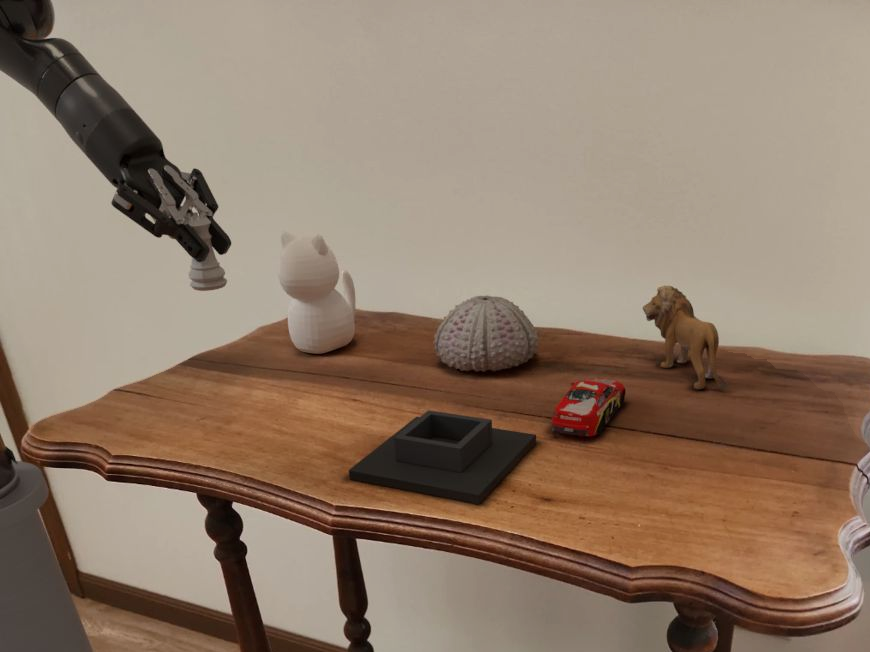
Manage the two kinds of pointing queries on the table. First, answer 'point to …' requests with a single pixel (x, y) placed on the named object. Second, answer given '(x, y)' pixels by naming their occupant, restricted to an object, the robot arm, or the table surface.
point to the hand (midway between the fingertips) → (215, 252)
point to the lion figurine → (684, 332)
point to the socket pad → (445, 457)
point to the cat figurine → (316, 295)
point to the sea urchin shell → (485, 335)
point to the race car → (588, 407)
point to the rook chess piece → (207, 271)
